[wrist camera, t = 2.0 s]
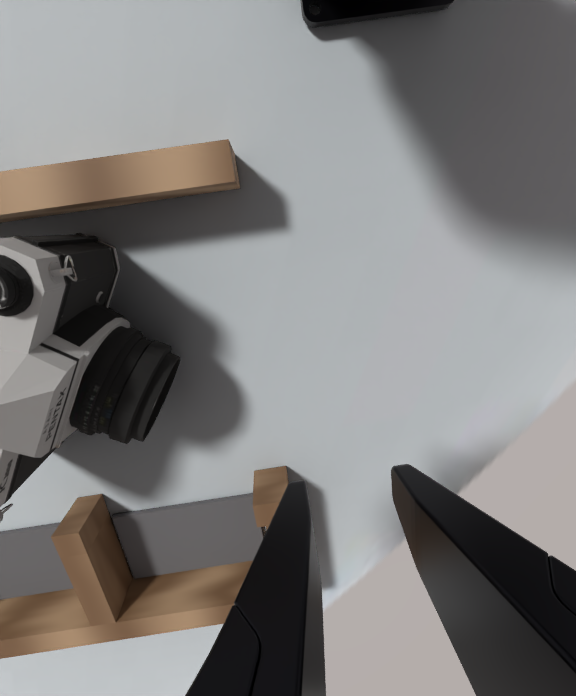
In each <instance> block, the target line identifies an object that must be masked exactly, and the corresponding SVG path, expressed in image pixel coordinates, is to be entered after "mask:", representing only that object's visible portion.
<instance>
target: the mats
mask: <svg viewBox="0 0 576 696" xmlns="http://www.w3.org/2000/svg"><path fill="white" fill-rule="evenodd" d="M112 520H113V523H114V525H115V528H116V531H117V533H118V536H119V539H120V541H121V544H122V547H123V549H124V552H125V555H126V557H127V560H128V563H129V565H130V568H131V571H132V574H133V576H134V579H137V578H143V577H150V576H156V575H163V574H169V573H176V572H182V571H189V570H195V569H201V568H208V567H214V566H221V565H227V564H234V563H240V562H246V561H253V559H254V557H255V555H256V553H257V551H258V549H259V546H260V544H261V542H262V540H263V538H264V536H263V531H262V527H257V524H256V520H255V515H254V510H253V493H251V494H244V495H237V496H231V497H224V498H218V499H211V500H205V501H198V502H192V503H185V504H179V505H172V506H166V507H159V508H153V509H146V510H140V511H133V512H127V513H120V514H114V515H113V517H112ZM59 524H60V523H55V524H48V525H42V526H35V527H29V528H22V529H16V530H9V531H3V532H0V600H2V599H8V598H15V597H21V596H28V595H34V594H40V593H47V592H53V591H60V590H66V589H73V585H72V583H71V581H70V579H69V576H68V574H67V572H66V570H65V568H64V565H63V563H62V561H61V559H60V556H59V554H58V552H57V550H56V548H55V545H54V543H53V541H52V539H51V536H52V534H53V533H54V532H55V530H56V529H57V527H58V526H59Z"/></svg>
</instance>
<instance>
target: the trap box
mask: <svg viewBox="0 0 576 696" xmlns="http://www.w3.org/2000/svg"><path fill="white" fill-rule="evenodd" d="M239 188H240V183H239V177H238V171H237V165H236V159H235V153H234V151H233V149H232V146H231V144H230V142H229V140H228V139H227V140H220V141H213V142H206V143H199V144H192V145H185V146H178V147H171V148H164V149H157V150H150V151H142V152H135V153H128V154H121V155H114V156H107V157H100V158H93V159H86V160H79V161H72V162H65V163H58V164H51V165H44V166H37V167H30V168H23V169H16V170H9V171H1V172H0V223H2V222H9V221H16V220H23V219H30V218H37V217H44V216H51V215H58V214H65V213H72V212H79V211H86V210H92V209H99V208H106V207H113V206H120V205H127V204H134V203H141V202H148V201H155V200H162V199H169V198H176V197H183V196H190V195H197V194H204V193H211V192H218V191H225V190H232V189H239ZM288 484H289V480H288V474H287V468H286V466H282V467H276V468H269V469H263V470H256V471H254V487H253V510H254V515H255V520H256V524H257V527H264V526H266V528H267V529H268V527H269V525H270V522H271V520H272V518H273V516H274V514H275V511H276V509H277V507H278V505H279V503H280V501H281V498H282V496H283V494H284V492H285V490H286V487H287V485H288ZM51 539H52V541H53V543H54V545H55V548H56V550H57V552H58V554H59V556H60V559H61V561H62V563H63V565H64V568H65V570H66V572H67V574H68V576H69V579H70V581H71V583H72V585H73V589H66V590H60V591H53V592H47V593H40V594H34V595H28V596H21V597H15V598H8V599H2V600H0V659H1V658H8V657H14V656H20V655H27V654H33V653H39V652H46V651H52V650H58V649H65V648H71V647H78V646H84V645H90V644H97V643H103V642H109V641H116V640H122V639H128V638H135V637H141V636H147V635H154V634H160V633H167V632H173V631H179V630H186V629H192V628H198V627H205V626H211V625H217V624H224V622H225V620H226V618H227V616H228V614H229V611H230V609H231V607H232V606H233V605H234V601H235V599H236V597H237V594H238V592H239V590H240V588H241V586H242V583H243V581H244V579H245V577H246V575H247V573H248V570H249V568H250V566H251V564H252V562H253V561H246V562H240V563H234V564H227V565H221V566H214V567H208V568H201V569H195V570H189V571H182V572H176V573H169V574H163V575H156V576H150V577H143V578H137V579H134V577H133V576H132V573H131V571H130V568H129V565H128V562H127V560H126V557H125V554H124V552H123V549H122V546H121V544H120V541H119V538H118V536H117V533H116V530H115V528H114V525H113V522H112V520H111V517H110V514H109V512H108V509H107V506H106V504H105V501H104V498H103V496H102V494H99V495H92V496H86V497H79V498H77V500H76V501H75V502H74V504H73V505H72V507H71V508H70V510H69V511H68V513H67V514H66V516H65V517H64V518H63V520H62V521H61V523H60V524H59V526H58V527H57V529H56V530H55V532H54V533H53V534H52V536H51Z"/></svg>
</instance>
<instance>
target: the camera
mask: <svg viewBox="0 0 576 696" xmlns="http://www.w3.org/2000/svg"><path fill="white" fill-rule="evenodd" d="M119 272H120V265H119V261H118V256H117V251H116V248H115V247H113V246H110V245H108V244H106V243H104V242H101V241H99V240H98V237H96V236H87V235H85V234H81V233H77V234H75V235H54V236H32V237H22V236H12V237H10V238H0V507H1V506H2V505H3V504H4V503H6V502H7V501H8V500H9V499H10V497H11V496H12V494H13V493H14V492H15V491H16V490H17V489H18V488H19V487H20V486H21V485H22V484H23V483H24V481H25V480H26V479H27V478H28V477H29V476H30V475H31V474H32V473H33V472H34V471H35V470H36V469H37V468H38V467H39V466H40V465H41V464H42V463H43V462H44V460H45V459H46V458H47V457H48V456H49V455H50V454H51V453H52V452H53V451H54V450H55V449H56V448H59V447H60V445H61V444H62V443H63V442H64V440H65V439H66V438H67V437H68V436H70V435H71V434H72V433H73V432H74V431H76V430H77V429H79V431H80V432H82V433H85V434H88V435H92V434H94V433H95V432H96V433H101V432H103V433H105V434H108V435H109V438H110V439H113V440H116V441H119V442H122V443H125V444H127V443H128V442H129V441H130V440H131V439H132V438H134V439H137V440H139V441H142V442H143V441H144V440H145V438H146V437H147V435H148V433H149V431H150V430H151V428H152V426H153V424H154V422H155V420H156V418H157V416H158V414H159V412H160V409H161V407H162V405H163V403H164V401H165V398H166V396H167V394H168V391H169V389H170V387H171V384H172V382H173V379H174V377H175V374H176V371H177V368H178V365H179V362H180V357H179V356H176V355H174V354H171V346H169V345H166V344H164V343H161V342H159V341H153V342H151V341H149V340H146V338H145V337H143V336H142V333H141V331H139V330H136V329H134V328H130V323H129V322H128V321H127V320H125V319H124V317H123V316H122V315H120V314H118V313H116V312H114V311H112V310H111V309H109V308H108V306H109V303H110V300H111V297H112V294H113V291H114V287H115V284H116V281H117V278H118V275H119ZM12 505H13V504H10V505H8V506H6V507H5V508H6V509H5V508H3V509H5V510H4V511H3V512H1V511H2V510H3V509H2V510H0V522H1V521H2V519H3V513H4V512H6V511H7V510H8V509H9V508H10V507H11V506H12Z"/></svg>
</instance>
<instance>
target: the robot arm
mask: <svg viewBox="0 0 576 696" xmlns="http://www.w3.org/2000/svg"><path fill="white" fill-rule="evenodd" d="M453 1H454V0H301V9H302V16H303V20H304V21H305V23H306V24H307V25H308V26H310V27H322V26H329V25H336V24H343V23H351V22H358V21H365V20H372V19H379V18H387V17H394V16H401V15H408V14H416V13H423V12H430V11H437V10H443V9H446V8H448V7H449V6H450V5H451V4H452V3H453ZM312 5H315V6H317V7H318V8H319V11H320V13H319V14H317V15H312V14H311V13H310V11H309V8H310V6H312ZM391 479H392V496H393V501H394V504H395V507H396V510H397V513H398V516H399V519H400V522H401V525H402V528H403V531H404V533H405V536H406V539H407V542H408V545H409V548H410V551H411V554H412V557H413V559H414V562H415V565H416V567H417V570H418V572H419V574H420V577H421V579H422V581H423V583H424V585H425V587H426V589H427V591H428V594H429V596H430V598H431V600H432V602H433V604H434V607H435V609H436V611H437V613H438V615H439V617H440V619H441V621H442V624H443V626H444V628H445V630H446V632H447V634H448V636H449V639H450V641H451V643H452V645H453V647H454V649H455V651H456V653H457V656H458V658H459V660H460V662H461V664H462V666H463V668H464V670H465V673H466V675H467V677H468V679H469V681H470V683H471V685H472V688H473V689H474V692H475V694H476V696H576V571H575V570H574V569H572V568H570V567H569V566H567V565H566V564H564V563H563V562H561V561H560V560H558V559H556V558H555V557H553V556H549V557H548V553H547V552H545V551H544V550H542V549H541V548H539V547H537V546H536V545H534V544H533V543H531V542H530V541H528V540H527V539H525V538H523V537H522V536H520V535H519V534H517V533H516V532H514V531H512V530H511V529H509V528H508V527H506V526H505V525H503V524H501V523H500V522H499V521H497V520H495V519H494V518H492V517H491V516H489V515H488V514H486V513H484V512H483V511H481V510H480V509H478V508H477V507H475V506H474V505H472V504H470V503H469V502H467V501H465V500H464V499H463V498H461V497H460V496H458V495H456V494H455V493H453V492H452V491H450V490H449V489H447V488H445V487H444V486H442V485H441V484H439V483H438V482H436V481H435V480H433V479H431V478H430V477H428V476H427V475H425V474H424V473H422V472H421V471H419V470H417V469H416V468H414V467H413V466H411V465H409V464H404V465H397V466H393V467H392V469H391ZM185 696H326V684H325V659H324V634H323V608H322V588H321V577H320V569H319V562H318V555H317V549H316V542H315V535H314V528H313V521H312V514H311V508H310V502H309V496H308V489H307V483H306V481H305V480H299V481H293V482H290V483H289V484H288V485H287V487H286V490H285V492H284V494H283V496H282V498H281V501H280V503H279V505H278V507H277V509H276V511H275V514H274V516H273V518H272V520H271V522H270V525H269V527H268V529H267V531H266V533H265V535H264V538H263V540H262V542H261V544H260V546H259V549H258V551H257V553H256V555H255V557H254V559H253V562H252V564H251V566H250V568H249V570H248V573H247V575H246V577H245V579H244V581H243V583H242V586H241V588H240V590H239V592H238V594H237V597H236V599H235V601H234V605H233V606H232V607H231V609H230V611H229V614H228V616H227V618H226V620H225V622H224V625H223V627H222V629H221V631H220V633H219V635H218V637H217V639H216V641H215V643H214V645H213V647H212V649H211V651H210V653H209V655H208V657H207V658H206V660H205V662H204V664H203V665H202V667H201V669H200V671H199V673H198V674H197V676H196V678H195V680H194V681H193V683H192V685H191V687H190V688H189V690H188V692H187V694H186V695H185Z"/></svg>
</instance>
